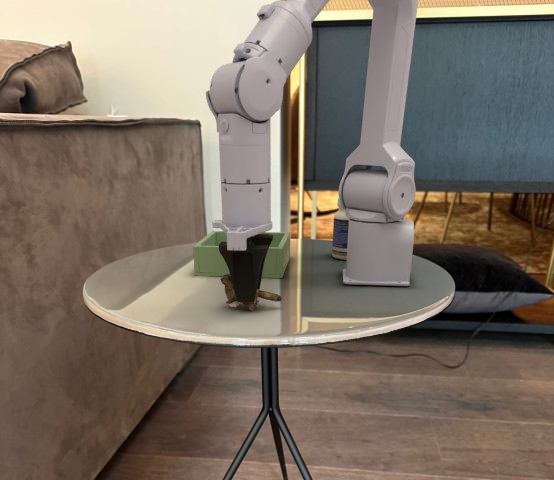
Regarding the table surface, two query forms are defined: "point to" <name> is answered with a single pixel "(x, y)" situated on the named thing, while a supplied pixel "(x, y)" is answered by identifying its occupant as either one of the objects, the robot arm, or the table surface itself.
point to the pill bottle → (340, 233)
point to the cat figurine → (233, 302)
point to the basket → (214, 264)
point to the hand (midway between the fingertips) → (248, 297)
